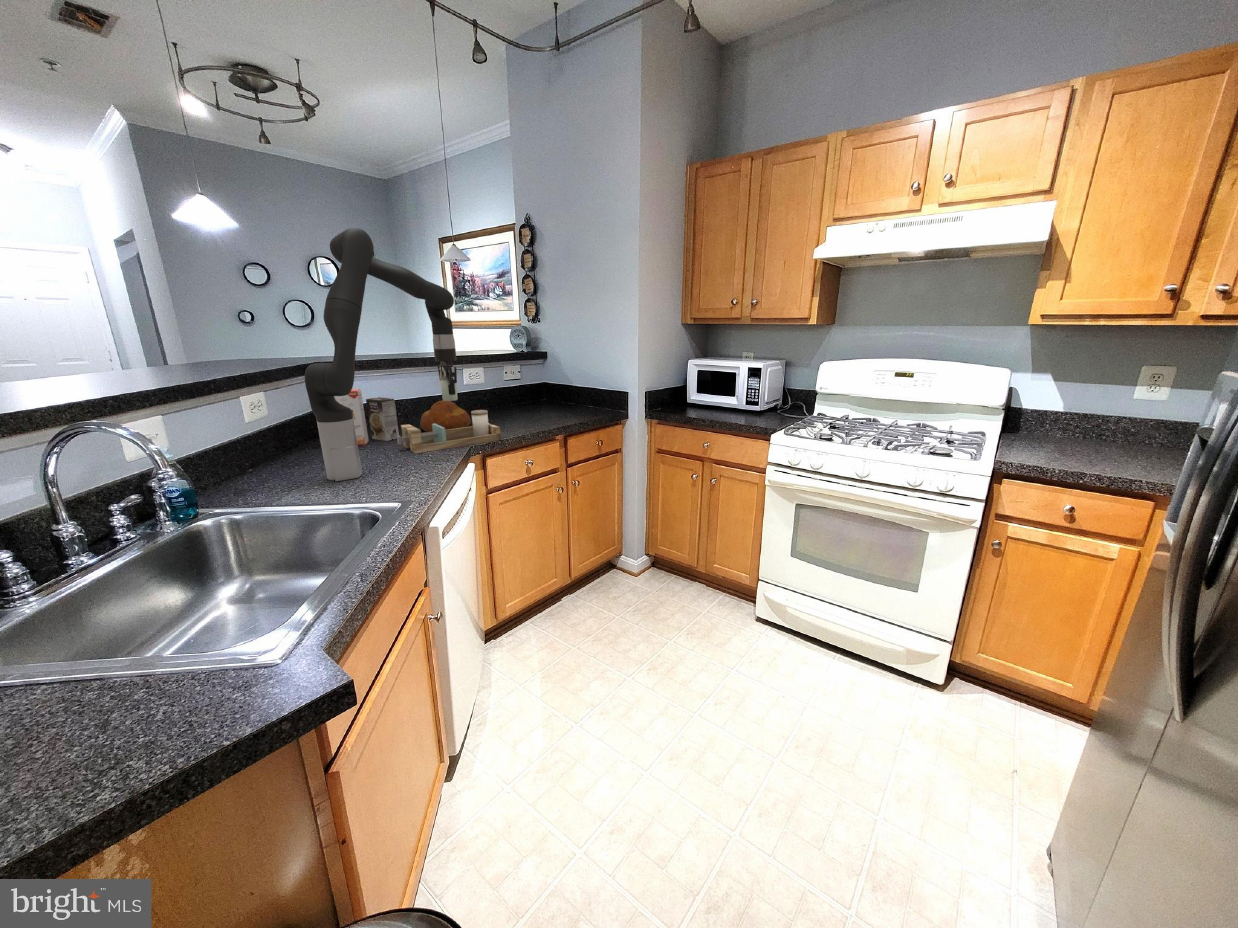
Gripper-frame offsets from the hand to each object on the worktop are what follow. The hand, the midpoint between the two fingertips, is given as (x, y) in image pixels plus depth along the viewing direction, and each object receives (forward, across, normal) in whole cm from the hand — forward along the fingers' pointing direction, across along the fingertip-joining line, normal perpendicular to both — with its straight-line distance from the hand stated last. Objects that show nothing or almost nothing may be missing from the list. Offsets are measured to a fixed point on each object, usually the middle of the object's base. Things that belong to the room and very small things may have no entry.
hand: (449, 393), depth 179 cm
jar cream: (+19, 0, -11) cm, 22 cm away
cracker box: (+19, +24, +33) cm, 45 cm away
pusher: (+18, 0, +12) cm, 22 cm away
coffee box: (+19, +26, +19) cm, 37 cm away
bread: (+19, +31, -7) cm, 37 cm away
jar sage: (+2, 0, 0) cm, 2 cm away
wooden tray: (+19, 0, +1) cm, 19 cm away
